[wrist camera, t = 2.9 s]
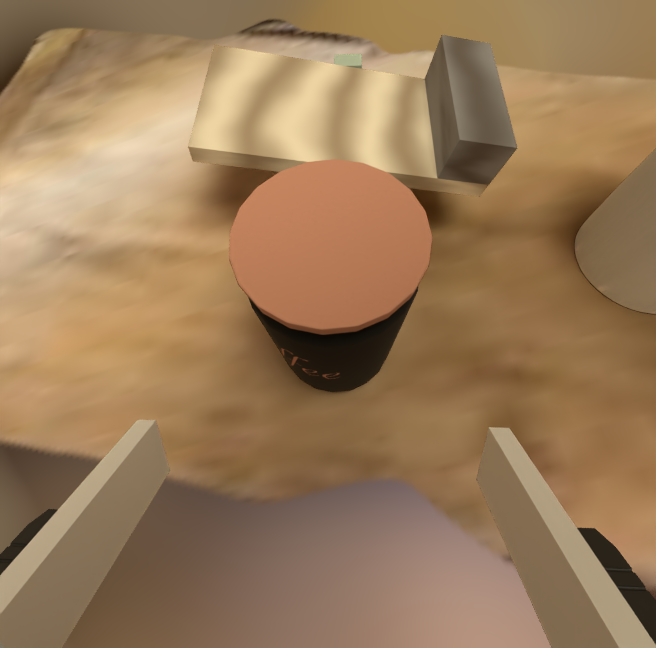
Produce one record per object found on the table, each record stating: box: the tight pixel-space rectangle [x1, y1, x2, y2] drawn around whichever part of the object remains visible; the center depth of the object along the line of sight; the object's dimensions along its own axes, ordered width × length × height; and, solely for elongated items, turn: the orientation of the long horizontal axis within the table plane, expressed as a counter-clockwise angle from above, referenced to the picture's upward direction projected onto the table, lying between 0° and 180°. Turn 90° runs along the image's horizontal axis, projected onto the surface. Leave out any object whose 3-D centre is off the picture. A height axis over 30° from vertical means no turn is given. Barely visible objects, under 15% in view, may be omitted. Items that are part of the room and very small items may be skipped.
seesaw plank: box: [188, 35, 517, 197], centre depth 31 cm, size 27×16×7 cm, turn 88°
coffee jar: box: [229, 159, 432, 392], centre depth 25 cm, size 11×11×18 cm
